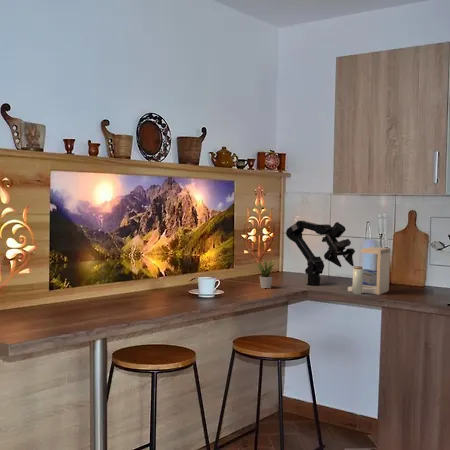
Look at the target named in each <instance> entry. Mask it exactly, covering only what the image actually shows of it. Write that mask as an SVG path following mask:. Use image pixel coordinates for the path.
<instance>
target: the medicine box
mask: <svg viewBox="0 0 450 450" xmlns="http://www.w3.org/2000/svg"><path fill="white" fill-rule="evenodd" d="M362 269H363V268H362ZM362 285H370V286H377V269H376V270H375V269H369V268H364V269H363V279H362Z"/></svg>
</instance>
